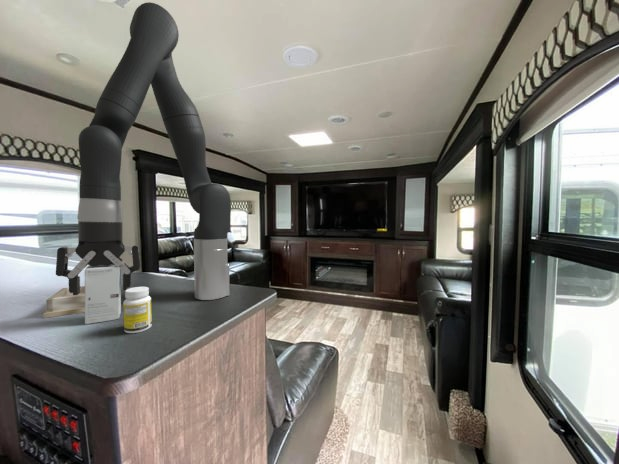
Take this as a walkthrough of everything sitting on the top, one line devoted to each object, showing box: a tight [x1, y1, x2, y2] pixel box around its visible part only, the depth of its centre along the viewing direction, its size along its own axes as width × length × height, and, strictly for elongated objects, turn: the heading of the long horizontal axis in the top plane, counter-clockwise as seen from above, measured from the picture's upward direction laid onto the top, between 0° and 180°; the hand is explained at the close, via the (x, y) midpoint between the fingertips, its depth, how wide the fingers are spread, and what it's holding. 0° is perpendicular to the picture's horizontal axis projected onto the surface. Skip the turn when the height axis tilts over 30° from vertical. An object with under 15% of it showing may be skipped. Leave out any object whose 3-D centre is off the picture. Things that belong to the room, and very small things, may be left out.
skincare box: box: [84, 264, 122, 325], centre depth 56 cm, size 6×4×12 cm
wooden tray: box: [42, 285, 85, 319], centre depth 64 cm, size 12×12×4 cm
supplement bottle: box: [122, 286, 153, 334], centre depth 51 cm, size 5×5×8 cm
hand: (101, 291), depth 55 cm, fingers open, 8 cm apart
